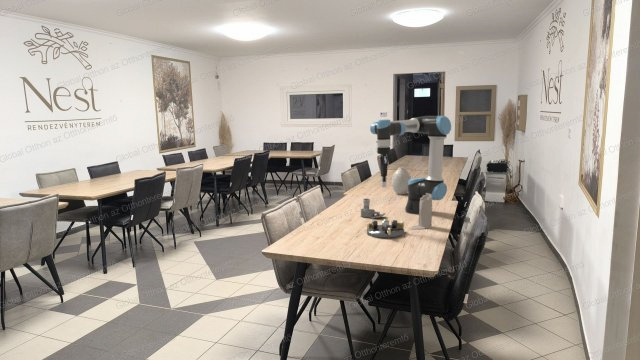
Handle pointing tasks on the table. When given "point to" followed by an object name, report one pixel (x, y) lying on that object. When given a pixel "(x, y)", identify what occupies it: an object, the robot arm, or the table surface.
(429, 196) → the grey upright bracket
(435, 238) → the table surface
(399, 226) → the knob
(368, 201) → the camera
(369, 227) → the knob
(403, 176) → the vase
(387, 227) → the knob
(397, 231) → the level base
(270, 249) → the table surface
